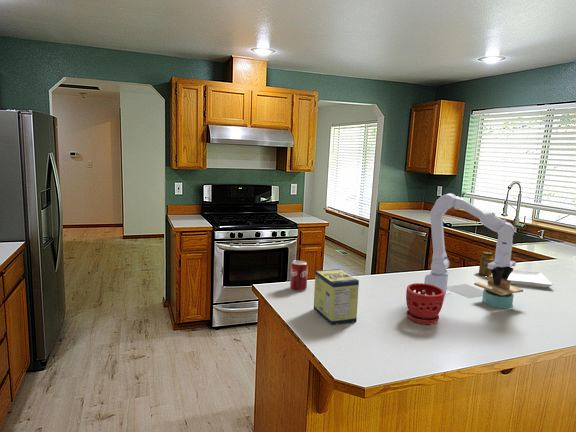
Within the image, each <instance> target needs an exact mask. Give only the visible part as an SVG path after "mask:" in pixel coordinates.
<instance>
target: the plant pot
mask: <svg viewBox="0 0 576 432" xmlns="http://www.w3.org/2000/svg"><path fill="white" fill-rule="evenodd" d="M423 290H425V291H423ZM433 292H434V293H435V295H433V294H432V293H433ZM444 299H445V294H444V291H443V290H442V289H441V288H439V287H436V286H434V285H430V284H424V282H423V283H419V282H416V283H411V284H408V285H407V287H406V292H405V302H406V307H407V310H406V316H407V317H408V318H409V319H410V320H411V321H413V322H415V323H419V324H423V325H431V324H436V323H437V322H438V321H439V319H440V315H439V314H440V312H441V310H442V307H443V304H444Z"/></svg>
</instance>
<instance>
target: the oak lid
mask: <svg viewBox="0 0 576 432" xmlns="http://www.w3.org/2000/svg"><path fill="white" fill-rule="evenodd" d="M510 283H511V281H510V280H507V279H504V278H501V282H500V285H495V284H494V281H493V276H492V275H489V277H488V278H487V280H484V281H478V282H474V283H473V285H474V286H477V287H480V288H482V289H483V290H484V289H487V290H489V291H492V292H494V293H497V294H499V295H507V294H513V295H514V294H516V293H517V294H518V293H523V292H524V289H523V288H519V287H517V286H515V285H512V284H510Z"/></svg>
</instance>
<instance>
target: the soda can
mask: <svg viewBox="0 0 576 432" xmlns="http://www.w3.org/2000/svg"><path fill="white" fill-rule="evenodd" d="M308 265H309V264H308V262H307V261H305V260H292V261H291V263H290V280H289V281H290V282H289V283H290V284H289V287H290V290H291V291H294V292H305V291H306V290H307V288H308V287H307V286H308V270H309V269H308V268H309V266H308Z"/></svg>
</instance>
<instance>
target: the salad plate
mask: <svg viewBox="0 0 576 432" xmlns="http://www.w3.org/2000/svg"><path fill="white" fill-rule="evenodd" d="M507 280H510V281H511V283H510V285H513V286H523V287H532V288H533V287H534V288H548V287H549V288H550V287H551V286H553V283H552V282H551V281H550V280H549V279H548V278H547V277H546V276H545V275H544V274H543V273H542V272H538V271H530V270H529V271H528V270H523V269H522V270H520V269H519V270H518V269H513V271H512V272H511V273H510V275H509V277H508V279H507Z"/></svg>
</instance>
